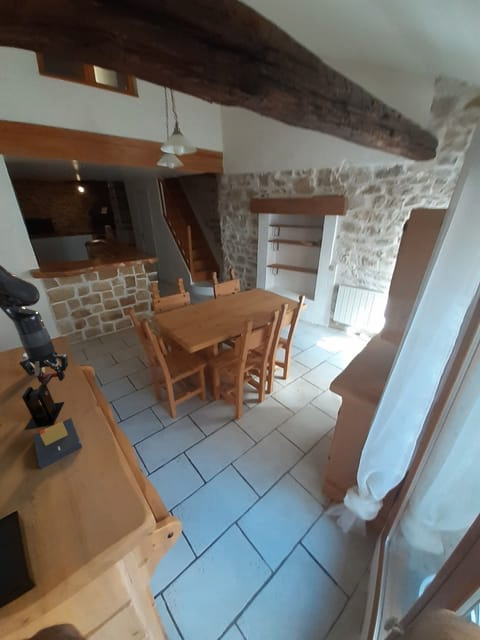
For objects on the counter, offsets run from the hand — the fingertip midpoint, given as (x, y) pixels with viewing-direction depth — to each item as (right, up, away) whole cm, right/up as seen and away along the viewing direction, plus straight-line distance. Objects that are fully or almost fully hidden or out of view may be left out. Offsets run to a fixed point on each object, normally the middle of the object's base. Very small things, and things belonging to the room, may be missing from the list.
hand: (53, 380), depth 91 cm
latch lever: (+2, -1, -6) cm, 6 cm away
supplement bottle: (-17, 0, +14) cm, 22 cm away
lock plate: (+14, -16, -16) cm, 26 cm away
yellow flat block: (+14, -13, -17) cm, 26 cm away
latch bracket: (+3, -11, -6) cm, 13 cm away
